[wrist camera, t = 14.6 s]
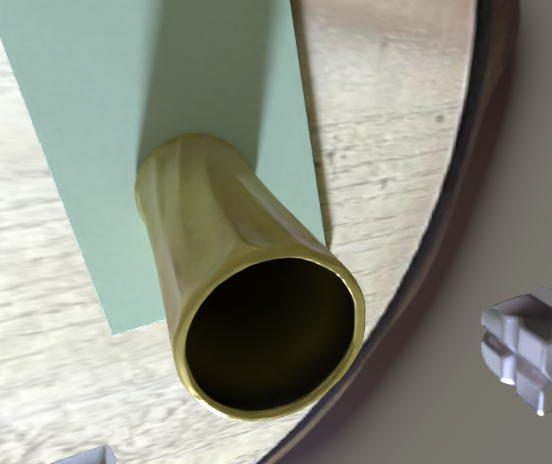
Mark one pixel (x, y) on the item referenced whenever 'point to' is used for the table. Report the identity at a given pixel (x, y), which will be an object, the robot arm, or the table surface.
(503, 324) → the robot arm
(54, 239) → the table surface
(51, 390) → the table surface
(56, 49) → the mat
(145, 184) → the vase
